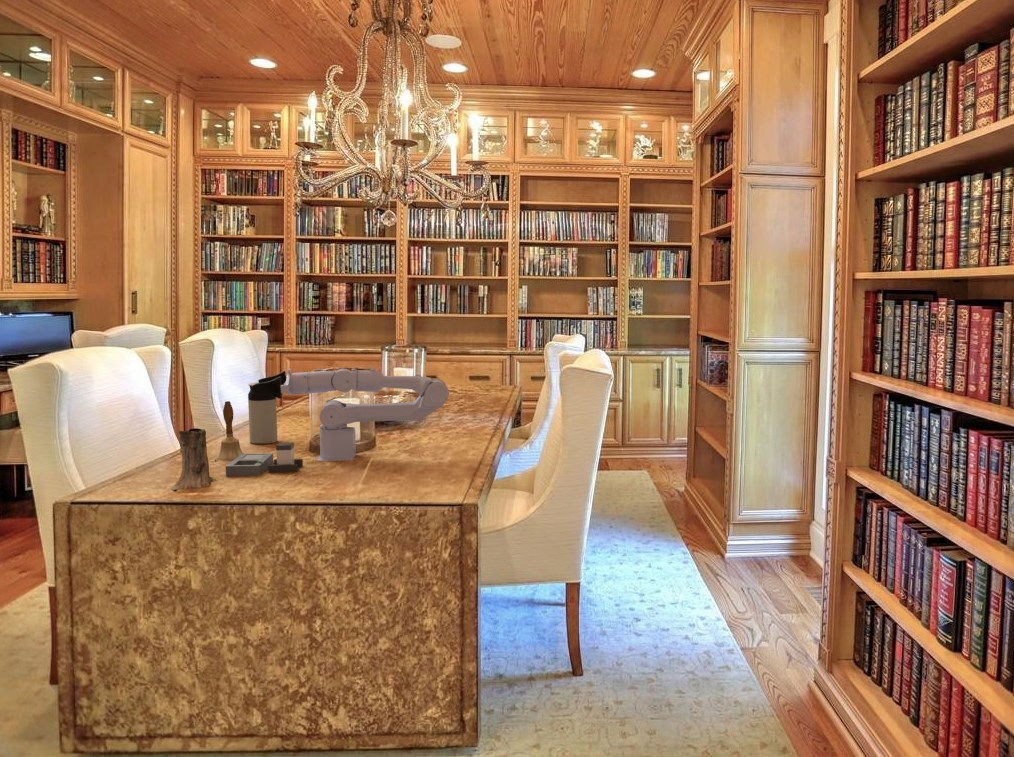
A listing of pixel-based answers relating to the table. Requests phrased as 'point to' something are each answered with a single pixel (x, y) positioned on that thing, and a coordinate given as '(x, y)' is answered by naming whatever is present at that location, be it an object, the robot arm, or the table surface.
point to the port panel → (249, 464)
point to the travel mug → (262, 417)
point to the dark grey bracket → (286, 467)
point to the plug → (285, 453)
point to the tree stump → (193, 460)
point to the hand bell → (229, 437)
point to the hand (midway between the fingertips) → (256, 386)
